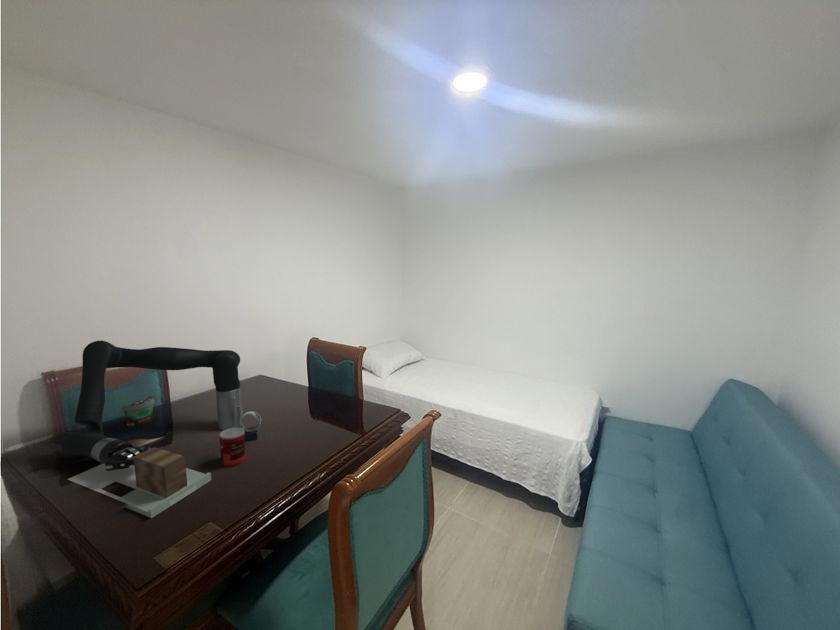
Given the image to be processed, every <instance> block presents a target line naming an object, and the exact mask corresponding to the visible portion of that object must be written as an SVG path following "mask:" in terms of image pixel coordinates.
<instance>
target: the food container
mask: <svg viewBox="0 0 840 630" xmlns="http://www.w3.org/2000/svg"><path fill="white" fill-rule="evenodd" d="M154 404H155V400H154V397H153V396H152V395H149V396H148V397H147V398H145V399H143V400H138V401H136V402H134V403H132V404H129V405H122V407H121V411H122V412H123V413H124V418H125V421H126V426H137V427H140V426H139V425H141V426H144V425H143V424H145V425H147V424H150V423H151V422H152V421H153V420H152V419H153V418H154V417H153V416H154V415H153V413H154V412H153V411H154V410H153V409H154V408H153V407H154ZM150 421H151V422H150ZM146 423H147V424H146Z"/></svg>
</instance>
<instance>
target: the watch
mask: <svg viewBox="0 0 840 630" xmlns="http://www.w3.org/2000/svg"><path fill="white" fill-rule="evenodd" d="M248 415H251V416H252V418H253V421H255V422H256V423H258V424H257V425H256V426H253V427H252V426H251V427H247V426H245V425H244V424H243V423H244V422H243V423H242V418H243V419H244V418H245V417H246V416H248ZM261 424H262V417H261V416H260V414H259V413H258V412H257V411H254V410H250V411H246V412H243V415H242V416H241V418H240V426H241V427H240V428H242V429H244V434H245V443H248V442H252V441H257V440H258V429H259V428H260V426H261Z"/></svg>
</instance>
